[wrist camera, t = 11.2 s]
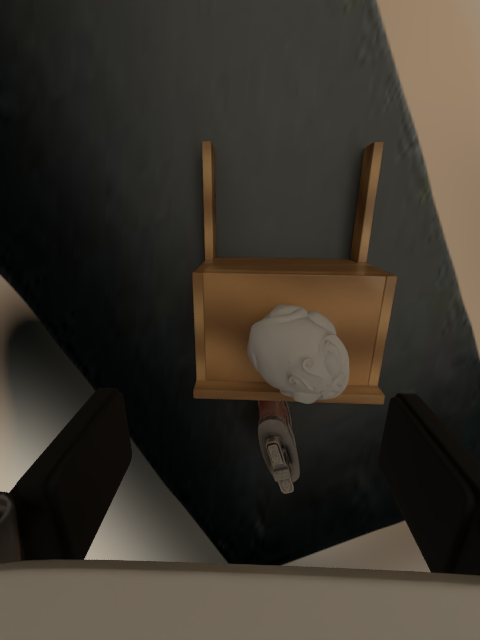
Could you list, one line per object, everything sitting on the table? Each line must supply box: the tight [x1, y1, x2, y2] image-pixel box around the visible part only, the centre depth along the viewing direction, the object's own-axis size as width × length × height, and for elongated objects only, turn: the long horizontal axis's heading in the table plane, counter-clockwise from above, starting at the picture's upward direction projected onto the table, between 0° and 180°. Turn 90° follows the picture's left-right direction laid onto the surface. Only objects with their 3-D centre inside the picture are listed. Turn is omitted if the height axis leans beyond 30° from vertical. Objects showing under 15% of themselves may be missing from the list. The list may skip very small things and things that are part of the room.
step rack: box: [192, 141, 397, 404], centre depth 26 cm, size 20×15×10 cm
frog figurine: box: [247, 305, 349, 404], centre depth 21 cm, size 6×7×7 cm
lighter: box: [258, 400, 300, 493], centre depth 32 cm, size 8×3×10 cm, turn 17°
